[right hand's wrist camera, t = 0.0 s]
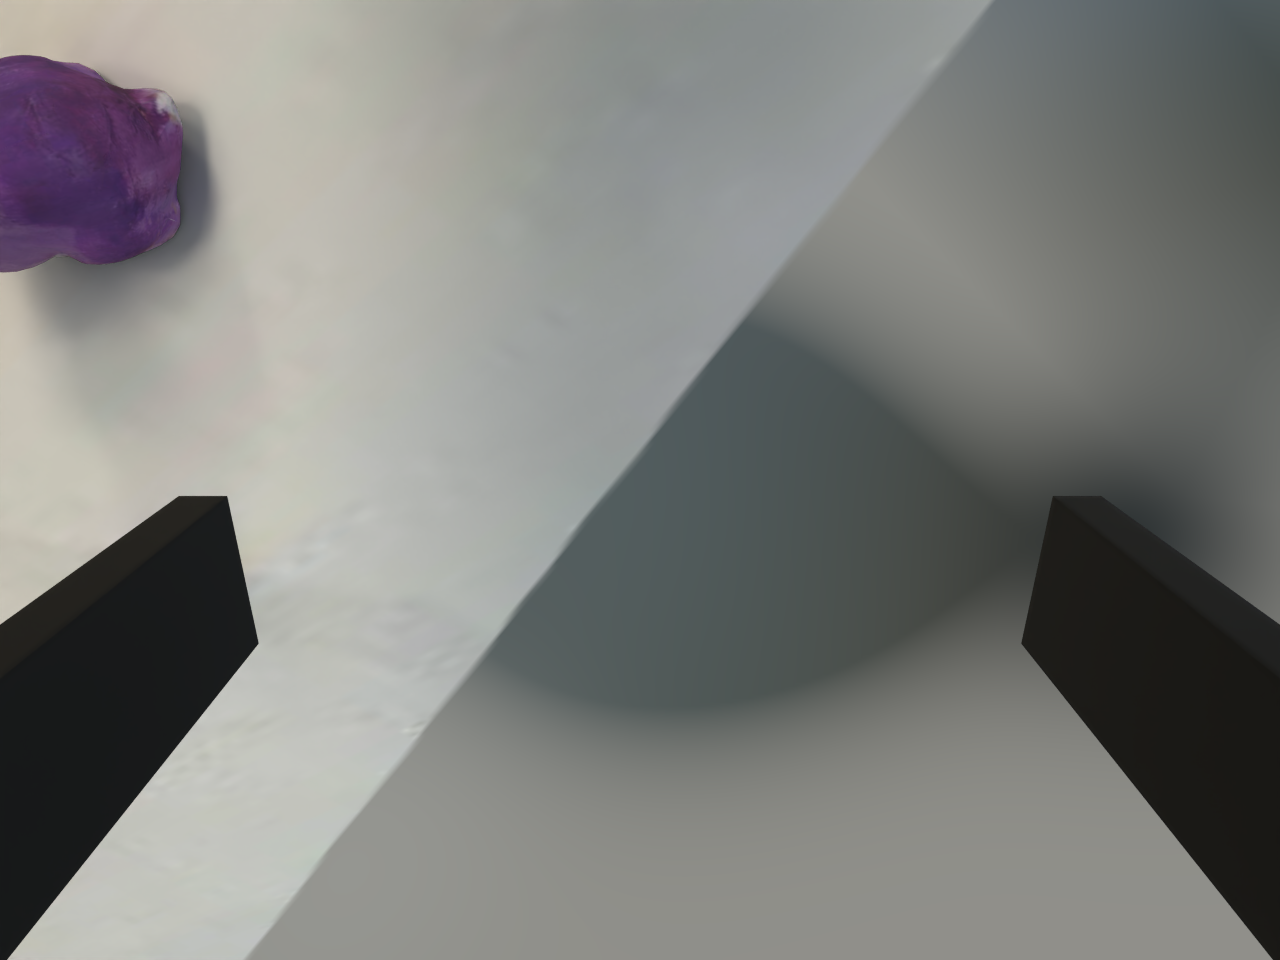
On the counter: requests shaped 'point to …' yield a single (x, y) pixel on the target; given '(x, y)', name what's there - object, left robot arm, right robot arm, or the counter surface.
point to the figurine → (83, 165)
